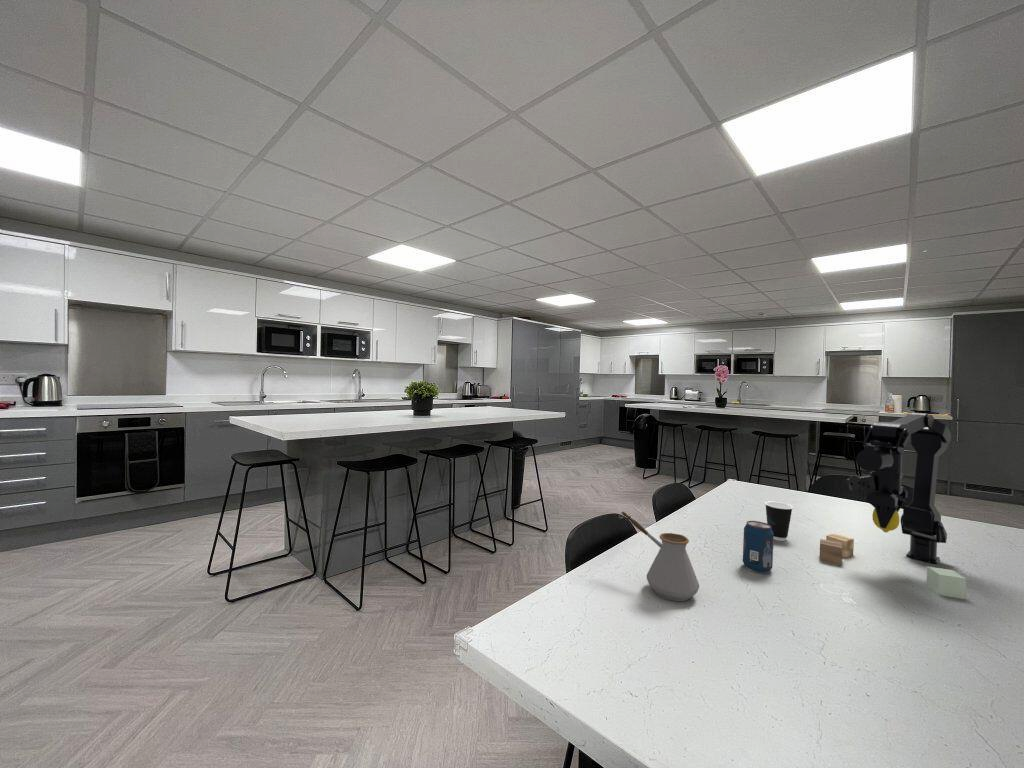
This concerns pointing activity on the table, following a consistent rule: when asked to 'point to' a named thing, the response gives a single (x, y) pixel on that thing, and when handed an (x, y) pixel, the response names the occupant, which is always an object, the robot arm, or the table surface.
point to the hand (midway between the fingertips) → (885, 525)
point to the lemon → (892, 524)
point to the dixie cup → (778, 519)
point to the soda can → (758, 546)
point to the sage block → (946, 582)
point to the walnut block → (831, 552)
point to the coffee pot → (670, 566)
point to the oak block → (843, 543)
